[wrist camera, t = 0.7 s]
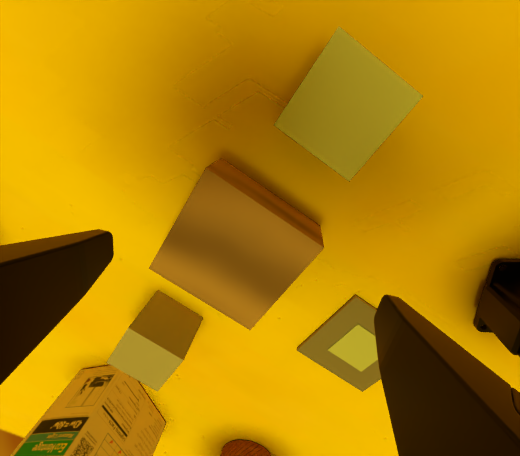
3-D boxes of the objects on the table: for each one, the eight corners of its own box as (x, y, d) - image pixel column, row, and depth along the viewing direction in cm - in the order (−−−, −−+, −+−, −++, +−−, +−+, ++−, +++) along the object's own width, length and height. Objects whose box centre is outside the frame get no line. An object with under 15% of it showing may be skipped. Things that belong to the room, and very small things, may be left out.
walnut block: (222, 157, 21) (205, 167, 17) (319, 224, 22) (324, 247, 18) (171, 244, 24) (148, 268, 20) (257, 298, 25) (250, 330, 21)
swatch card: (355, 294, 23) (356, 297, 23) (426, 343, 24) (428, 346, 24) (297, 347, 26) (296, 351, 26) (361, 388, 27) (362, 392, 27)
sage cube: (328, 48, 17) (338, 25, 12) (391, 99, 17) (423, 96, 13) (280, 121, 19) (273, 125, 14) (337, 164, 19) (349, 181, 15)
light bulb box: (79, 367, 32) (-18, 482, 22) (127, 360, 30) (45, 479, 21) (124, 427, 36) (57, 548, 26) (169, 423, 34) (116, 550, 24)
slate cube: (158, 289, 26) (128, 327, 21) (203, 317, 27) (183, 360, 22) (137, 321, 28) (106, 362, 23) (180, 346, 29) (157, 391, 24)
